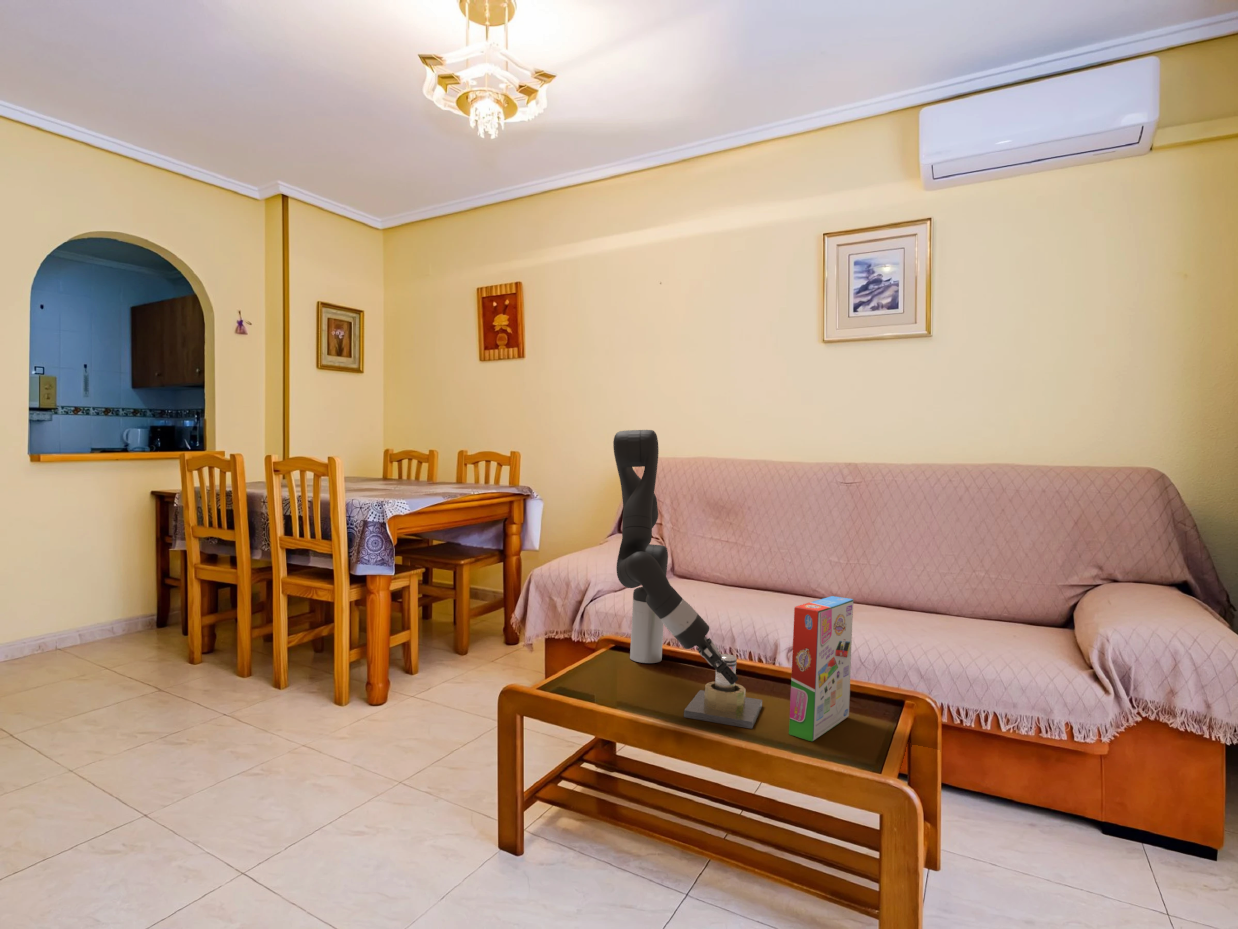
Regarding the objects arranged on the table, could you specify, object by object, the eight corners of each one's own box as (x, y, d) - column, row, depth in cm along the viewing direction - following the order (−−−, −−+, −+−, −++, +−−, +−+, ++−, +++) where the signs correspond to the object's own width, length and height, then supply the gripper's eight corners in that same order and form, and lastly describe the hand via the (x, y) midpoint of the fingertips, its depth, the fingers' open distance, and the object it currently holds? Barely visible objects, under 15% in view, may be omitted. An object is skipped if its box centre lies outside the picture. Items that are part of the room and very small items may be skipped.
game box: (826, 711, 156) (831, 595, 157) (849, 718, 153) (855, 599, 153) (787, 735, 140) (793, 605, 141) (812, 742, 137) (818, 609, 137)
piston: (715, 700, 155) (718, 652, 156) (735, 703, 154) (738, 655, 154) (711, 706, 151) (714, 657, 151) (732, 709, 149) (735, 660, 150)
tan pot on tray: (699, 696, 163) (700, 673, 163) (761, 706, 158) (763, 682, 158) (683, 717, 147) (685, 692, 148) (752, 729, 142) (753, 703, 143)
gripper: (700, 618, 146) (750, 674, 146) (692, 606, 160) (738, 656, 160) (675, 641, 146) (724, 697, 145) (669, 627, 160) (714, 677, 160)
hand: (731, 676), depth 153 cm, fingers open, 8 cm apart
